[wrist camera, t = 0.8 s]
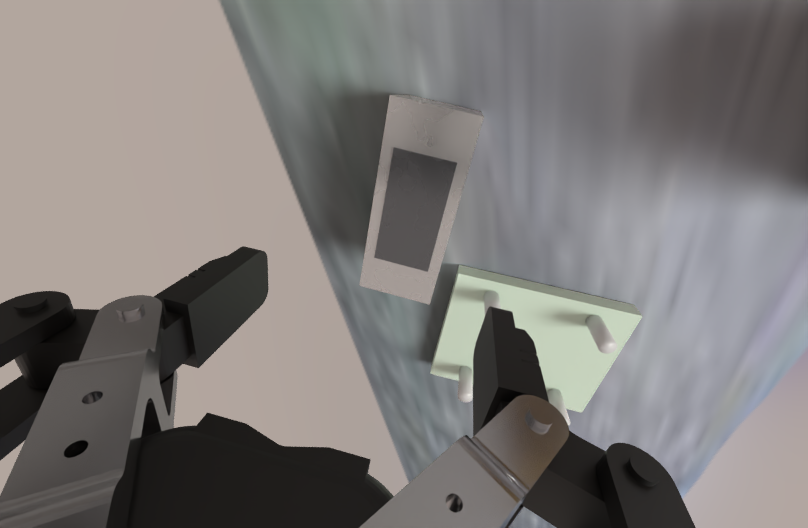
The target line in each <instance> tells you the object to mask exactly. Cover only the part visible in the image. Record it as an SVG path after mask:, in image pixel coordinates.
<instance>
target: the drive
mask: <svg viewBox="0 0 808 528" xmlns="http://www.w3.org/2000/svg"><path fill="white" fill-rule="evenodd" d="M483 118H484V116H483V114H482V112H481V111H477V110H473V109H469V108H464V107H460V106H456V105H451V104H447V103H443V102H438V101H434V100H430V99H425V98H421V97H417V96H412V95H390V97H389V104H388V110H387V116H386V122H385V129H384V135H383V141H382V148H381V154H380V160H379V166H378V173H377V179H376V185H375V191H374V198H373V204H372V210H371V216H370V223H369V229H368V235H367V242H366V248H365V254H364V260H363V267H362V273H361V279H360V285H359V286H363V287H367V288H370V289H374V290H378V291H381V292H385V293H389V294H392V295H396V296H400V297H403V298H407V299H411V300H415V301H418V302H422V303H426V304H429V305H430V302H431V298H432V295H433V291H434V288H435V284H436V281H437V277H438V274H439V271H440V267H441V264H442V260H443V257H444V253H445V250H446V246H447V243H448V239H449V236H450V232H451V229H452V226H453V222H454V219H455V215H456V212H457V208H458V205H459V201H460V198H461V194H462V191H463V188H464V184H465V181H466V177H467V174H468V170H469V167H470V163H471V160H472V156H473V153H474V150H475V146H476V143H477V139H478V136H479V132H480V129H481V125H482V122H483Z"/></svg>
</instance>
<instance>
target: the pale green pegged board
mask: <svg viewBox="0 0 808 528" xmlns="http://www.w3.org/2000/svg"><path fill="white" fill-rule="evenodd" d="M490 306H491V307H495V308H499V309H504V310H508V311H512V313H513V317H514V323H515V328H519V329H523V330H525V331H526V332H527V333H528V334H529V336H530V337H531V338H532V340H533V341H534V344H535V348H536V352H537V356H538V360H539V366H540V367H541V371H542V375H543V379H544V383H545V387H546V391H547V395H548V399H549V403H550V404H552V405H553V406H554V407H556V408H557V409H558V410H559V411H560V413H561V414H562V415H563V416H564V418H565V420H566V422H567V424H568V426H569V425H570V420H569V416H568V413H567V410H566V409H570V410H573V411H577V412H581V413H582V412H583V410H584V408H585V407H586V405H587V404H588V402H589V400H590V399H591V397H592V396H593V394H594V393H595V391H596V389H597V388H598V386H599V385H600V383H601V381H602V380H603V378H604V377H605V375H606V373H607V372H608V370H609V369H610V367H611V366H612V364H613V362H614V361H615V359H616V358H617V356H618V354H619V353H620V351H621V350H622V348H623V346H624V345H625V343H626V342H627V340H628V339H629V337H630V335H631V334H632V332H633V331H634V329H635V327H636V326H637V324H638V323H639V321H640V319H641V318H642V315H641V313H640V312H639V311H638V309H637V308H636V307H635V306H634V305H632V304H627V303H623V302H619V301H614V300H610V299H606V298H601V297H597V296H593V295H588V294H584V293H580V292H575V291H571V290H567V289H562V288H558V287H554V286H549V285H545V284H540V283H536V282H532V281H527V280H523V279H519V278H514V277H510V276H506V275H501V274H497V273H493V272H488V271H484V270H480V269H475V268H471V267H467V266H462V265H459V267H458V271H457V274H456V278H455V281H454V285H453V289H452V292H451V296H450V299H449V303H448V307H447V310H446V314H445V317H444V321H443V325H442V328H441V332H440V335H439V339H438V342H437V346H436V350H435V353H434V357H433V360H432V366H431V373H430V374H434V375H438V376H442V377H446V378H450V379H453V380H457V381H458V399H459V400H460V401H462V402H470V401H471V400H472V384H473V355H474V349H475V344H476V341H477V338H478V335H479V332H480V329H481V326H482V324H483V321H484V318H485V315H486V312H487V310H488V308H489V307H490Z"/></svg>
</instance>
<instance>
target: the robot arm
mask: <svg viewBox="0 0 808 528" xmlns="http://www.w3.org/2000/svg"><path fill="white" fill-rule="evenodd" d="M267 293H268V265H267V255H266V253H265V252H264V251H261V250H256V249H252V248H248V247H241V248H239V249H238V250H236V251H235V252H233V253H231V254H230V255H228V256H224V257H221V258H218V259H215V260H212V261H209V262H208V263H206V264H205V265H203V266H201V267H200V268H198V270H195V271H194V272H192V273H190V274H189V276H188V277H187V276H186V277H184V278H182V279H181V280H179V281H178V282H176V283H175V284H173V285H171V286H170V287H168V288H167V289H165V290H163V291H162V292H160V293H159V294H157V295H156V296H154V297H151V296H144V295H139V296H129V297H125V298H121V299H118V300H115V301H113V302H111V303H109V304H107V305H105V306H104V307H103V308H102V309H100V310H88V309H73V306H72V304H71V301H70V298H69V296H68V295H66V294H64V293H61V292H55V291H43V292H35V293H30V294H25V295H22V296H18V297H15V298H12V299H10V300H8V301H5V302H3V303H1V304H0V367H2V366H4V365H5V364H7V363H9V362H10V361H12V360H13V359H15V361H16V363H17V365H18V367H19V369H20V370H21V373H22V376H20V377H19V378H17V379H16V380H14V381H13V382H11V383H10V384H8V385H7V386H5V387H4V388H2V389H1V390H0V460H1V459H3V458H4V457H5V456H6V455H7V454H9V453H10V452H11V451H12V450H13V449H15V448H16V447H17V446H18V445H19V444H21V443H22V442H23V441H24V440H25V442H24V444H23V447H22V449H21V451H20V453H19V455H18V458H17V460H16V462H15V464H14V466H13V469H12V471H11V473H10V475H9V477H8V480H7V482H6V484H5V486H4V488H3V491H2V493H1V495H0V528H509V527H510V526H511V525H512V523H513V522H514V521H515V519H516V518H517V516H518V515H519V514H520V512H521V511H522V509H523V508H524V507H526V508H527V509H529V510H530V511H532V512H534V513H535V514H537V515H538V516H540V517H541V518H543V519H544V520H546V521H547V522H549V523H551V524H552V525H554V526H555V527H557V528H695V525H694V523H693V521H692V519H691V517H690V515H689V513H688V511H687V508H686V506H685V504H684V502H683V500H682V498H681V496H680V493H679V491H678V489H677V487H676V485H675V483H674V481H673V479H672V478H671V476H670V475H669V473H668V472H667V471H666V470H665V468H664V467H663V466H662V465H661V464H660V463H659V462H658V461H657V460H655V459H654V458H653V457H652V456H650V455H649V454H648V453H646V452H644V451H643V450H641V449H639V448H637V447H635V446H632V445H630V444H626V443H615V444H612V445H611V446H610V447H609V448H608V449H607V451H604V450H602V449H600V448H598V447H597V446H595V445H593V444H591V443H589V442H587V441H585V440H583V439H582V438H580V437H578V436H576V435H575V434H573V433H572V432H571V431H569V428H568V424H567V422H566V420H565V418H564V416H563V415H562V414H561V413H560V411H559V410H558V409H557V408H556V407H554V406H553V405H552V404H550V403H549V399H548V395H547V391H546V387H545V383H544V379H543V375H542V371H541V367H540V366H539V360H538V356H537V352H536V348H535V344H534V341H533V340H532V338H531V337H530V336H529V334H528V333H527V332H526V331H525V330H523V329H519V328H515V323H514V317H513V313H512V311H508V310H504V309H499V308H495V307H491V306H490V307H489V308H488V310H487V312H486V315H485V318H484V321H483V324H482V326H481V329H480V332H479V335H478V338H477V341H476V344H475V349H474V355H473V437H472V438H471V439H470V438H469V437H468V436H467V435H465V436H463V437H461V438H460V439H458V440H457V441H456V442H455V443H454V444H453V445H451V446H450V447H449V448H448V449H447V450H446V451H445V452H444V453H442V454H441V455H440V456H439V457H438V458H437V459H436V460H435V461H433V462H432V463H431V464H430V465H429V466H428V467H427V468H426V469H424V470H423V471H422V472H421V473H420V474H419V475H418V476H417V477H415V478H414V479H413V480H412V481H411V482H410V483H409V484H408V485H406V486H405V487H404V488H403V489H402V490H401V491H400V492H399V493H397V494H396V495H395V496H393V495H392V494H391V493H390V492H389V491H388V490H387V489H386V488H385V486H383V485H382V484H381V483H380V482H379V481H378V480H376V479H375V478H374V477H372V476H370V475H369V474H368V469H369V464H370V459H367V458H363V457H360V456H357V455H353V454H350V453H346V452H343V451H339V450H336V449H332V448H326V447H325V448H324V447H285V446H281V445H278V444H277V443H275V442H274V441H272V440H270V439H269V438H267V437H266V436H264V435H263V434H261V433H260V432H258V431H257V430H255V429H253V428H252V427H250V426H249V425H247V424H245V423H242V422H238V421H234V420H231V419H228V418H224V417H220V416H217V415H214V414H210V413H207V414H206V415H205V416H204V417H203V419H202V420H201V421H200V422H199V423H198V425H197V426H184V427H178V428H174V413H175V401H176V389H177V371H176V369H177V368H178V367H179V366H180V365H182V364H186V365H189V366H193V367H197V368H199V367H200V366H201V365H202V364H203V363H204V362H205V361H206V360H207V359H208V358H209V357H210V356H211V355H212V354H213V353H214V352H215V351H216V350H217V349H218V348H219V347H220V346H221V345H222V344H223V343H224V342H225V341H226V340H227V339H228V338H229V337H230V336H231V335H232V334H233V333H234V332H235V331H236V330H237V329H238V328H239V327H240V326H241V325H242V324H243V323H244V322H245V321H246V320H247V319H248V318H249V317H250V316H251V315H252V314H253V313H254V312H255V311H256V310H257V309H258V308H259V307H260V306H261V305H262V304H263V302H264V301H265V299H266V297H267Z"/></svg>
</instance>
